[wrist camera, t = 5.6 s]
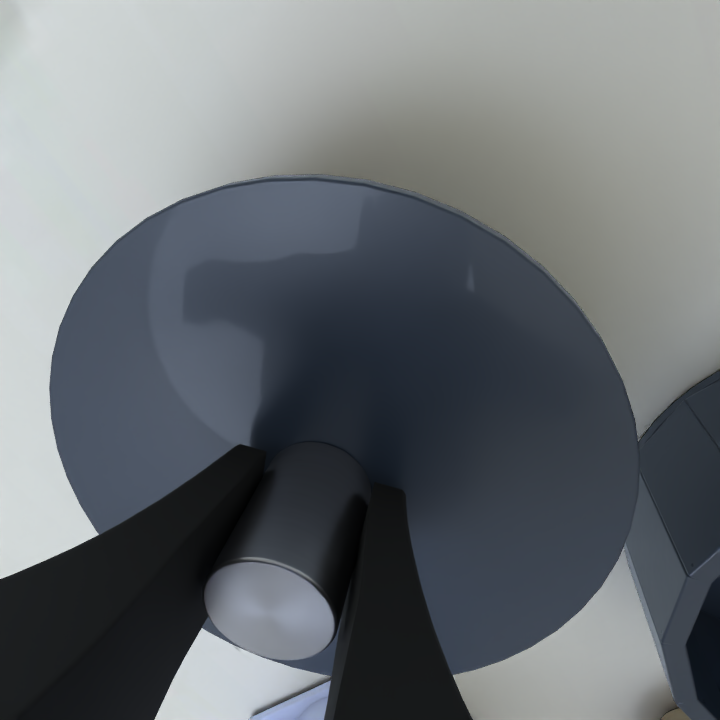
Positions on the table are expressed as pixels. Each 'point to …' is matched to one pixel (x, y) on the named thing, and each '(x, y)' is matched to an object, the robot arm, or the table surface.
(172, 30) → the table surface
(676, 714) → the mushroom
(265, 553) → the pan lid
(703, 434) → the pan
